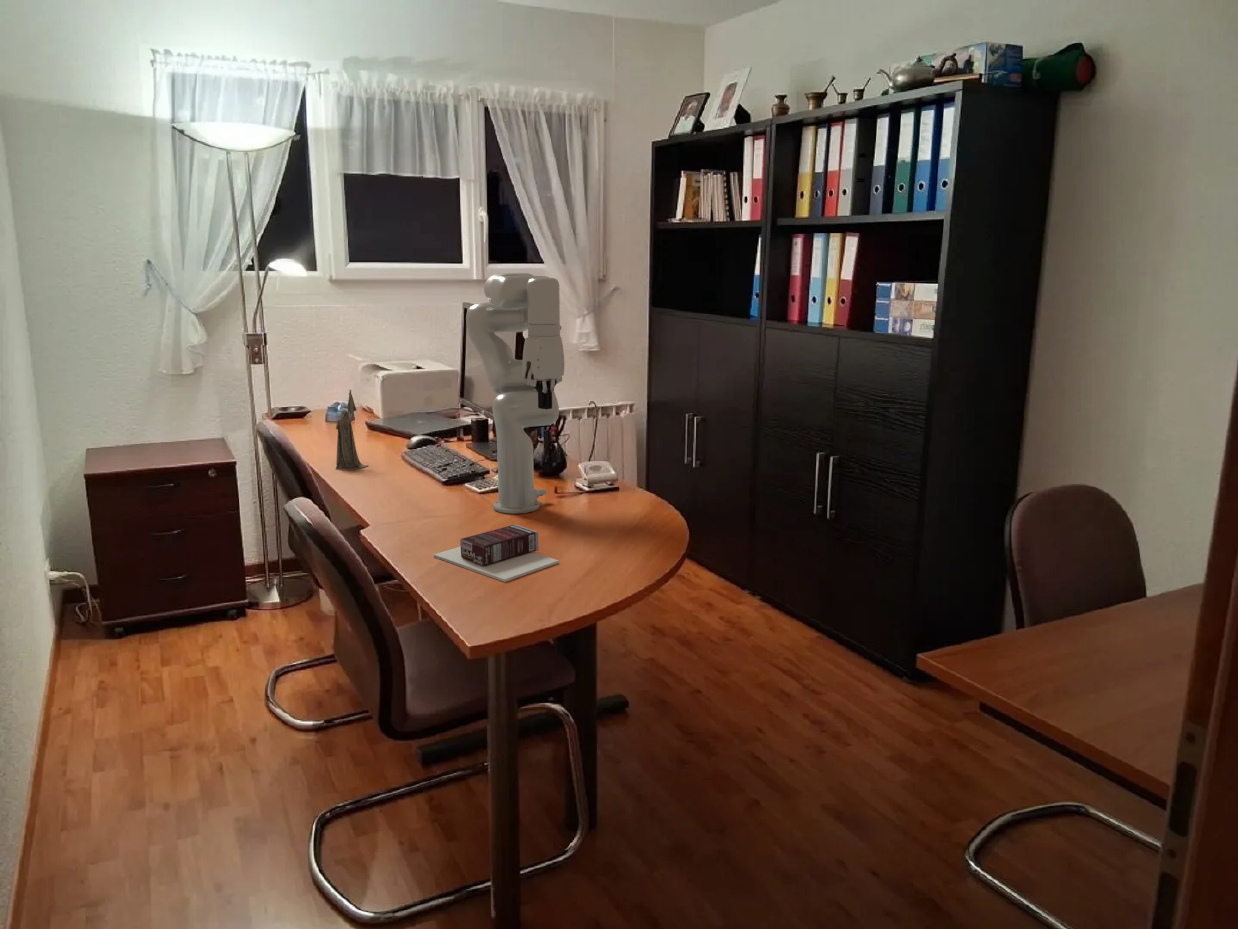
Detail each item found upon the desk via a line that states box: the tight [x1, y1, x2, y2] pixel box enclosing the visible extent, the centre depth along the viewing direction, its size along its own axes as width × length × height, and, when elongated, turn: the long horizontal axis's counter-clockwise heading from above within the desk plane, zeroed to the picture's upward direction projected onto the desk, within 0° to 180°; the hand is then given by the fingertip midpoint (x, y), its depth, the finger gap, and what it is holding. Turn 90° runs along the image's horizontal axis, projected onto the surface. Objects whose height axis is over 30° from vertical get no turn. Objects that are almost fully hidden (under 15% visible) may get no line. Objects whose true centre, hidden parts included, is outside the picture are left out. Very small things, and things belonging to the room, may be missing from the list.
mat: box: [433, 545, 560, 583], centre depth 202 cm, size 16×24×1 cm, turn 49°
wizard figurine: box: [335, 389, 368, 471], centre depth 286 cm, size 10×8×25 cm
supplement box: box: [460, 524, 539, 566], centre depth 203 cm, size 9×5×16 cm
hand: (545, 408), depth 215 cm, fingers closed
